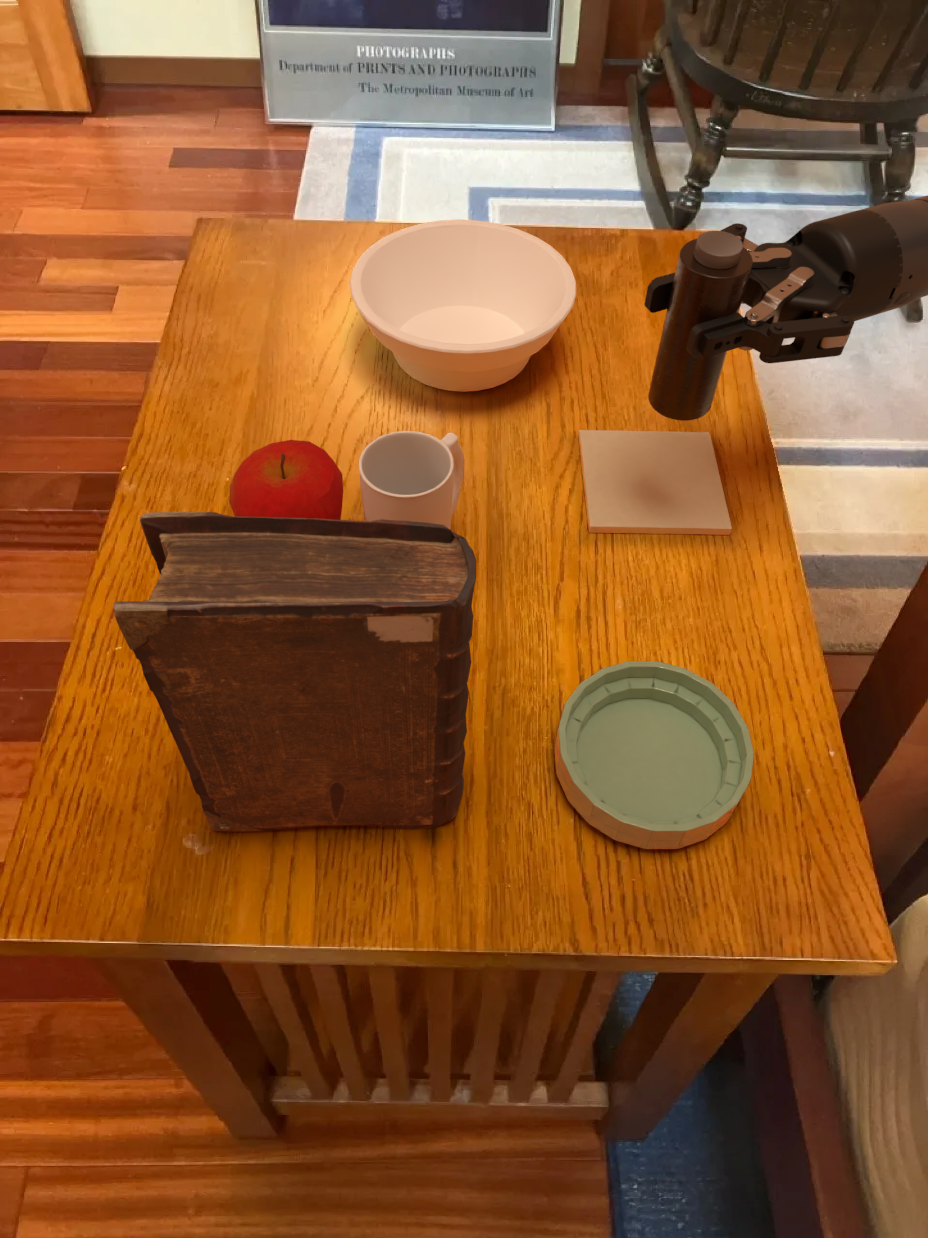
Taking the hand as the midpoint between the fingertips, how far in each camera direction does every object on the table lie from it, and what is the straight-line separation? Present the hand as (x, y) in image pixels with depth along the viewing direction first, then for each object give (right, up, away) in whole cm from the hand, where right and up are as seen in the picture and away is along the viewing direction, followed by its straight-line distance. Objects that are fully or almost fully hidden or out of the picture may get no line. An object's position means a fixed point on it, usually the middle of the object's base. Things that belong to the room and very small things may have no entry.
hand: (670, 319), depth 64 cm
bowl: (-14, +6, +29) cm, 33 cm away
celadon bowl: (-1, -31, +1) cm, 31 cm away
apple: (-28, -16, +12) cm, 34 cm away
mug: (-18, -16, +13) cm, 27 cm away
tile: (+2, -9, +18) cm, 20 cm away
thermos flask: (+2, -4, +7) cm, 8 cm away
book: (-23, -33, 0) cm, 40 cm away
